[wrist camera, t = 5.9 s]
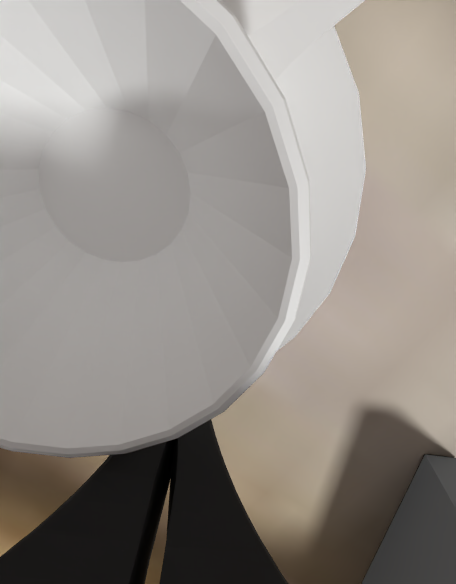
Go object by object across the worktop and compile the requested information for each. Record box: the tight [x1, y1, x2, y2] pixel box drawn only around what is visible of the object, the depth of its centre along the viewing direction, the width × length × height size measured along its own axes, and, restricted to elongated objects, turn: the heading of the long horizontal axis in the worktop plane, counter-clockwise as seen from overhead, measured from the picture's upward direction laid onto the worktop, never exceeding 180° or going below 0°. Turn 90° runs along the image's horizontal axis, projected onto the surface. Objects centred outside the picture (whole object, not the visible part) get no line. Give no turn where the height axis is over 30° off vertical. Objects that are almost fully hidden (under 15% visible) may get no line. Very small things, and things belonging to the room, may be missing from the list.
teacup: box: [0, 0, 366, 458], centre depth 8 cm, size 12×12×5 cm
